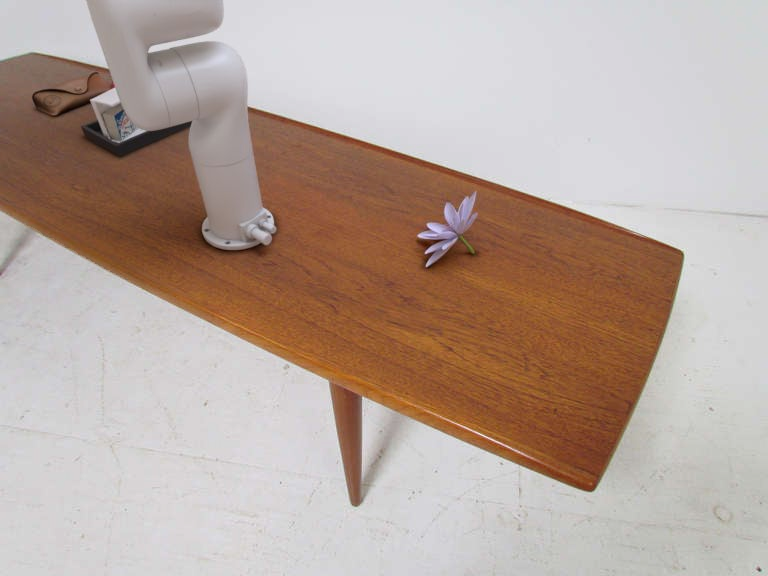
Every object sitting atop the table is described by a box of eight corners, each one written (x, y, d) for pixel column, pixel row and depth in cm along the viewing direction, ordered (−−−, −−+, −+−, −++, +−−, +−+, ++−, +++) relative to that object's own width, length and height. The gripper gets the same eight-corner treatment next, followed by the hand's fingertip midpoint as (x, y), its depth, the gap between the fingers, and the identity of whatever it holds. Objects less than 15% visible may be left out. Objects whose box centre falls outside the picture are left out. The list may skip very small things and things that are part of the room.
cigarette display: (126, 147, 108) (110, 105, 101) (106, 141, 109) (89, 99, 103) (186, 109, 121) (175, 70, 115) (167, 105, 123) (156, 66, 116)
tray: (209, 117, 120) (206, 107, 118) (120, 157, 106) (116, 146, 104) (173, 101, 125) (171, 91, 124) (85, 137, 112) (80, 126, 110)
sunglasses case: (55, 115, 117) (35, 88, 114) (47, 123, 122) (28, 96, 119) (121, 90, 128) (105, 64, 125) (111, 97, 133) (95, 72, 130)
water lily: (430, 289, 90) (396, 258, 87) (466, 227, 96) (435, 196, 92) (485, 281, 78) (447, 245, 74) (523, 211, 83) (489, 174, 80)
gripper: (38, -77, 90) (77, 26, 102) (90, -65, 82) (126, 44, 94) (78, -82, 94) (111, 17, 106) (131, -71, 87) (160, 34, 99)
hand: (118, 30), depth 100 cm, fingers open, 9 cm apart
